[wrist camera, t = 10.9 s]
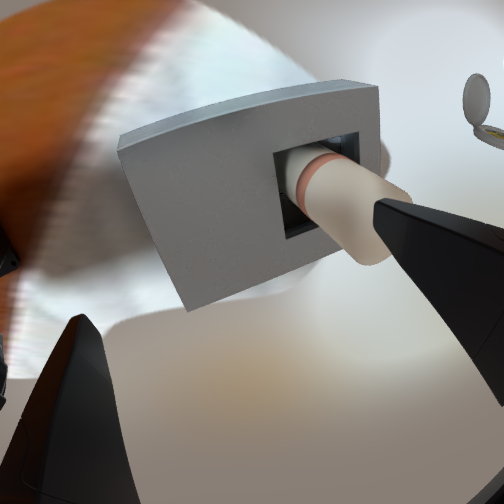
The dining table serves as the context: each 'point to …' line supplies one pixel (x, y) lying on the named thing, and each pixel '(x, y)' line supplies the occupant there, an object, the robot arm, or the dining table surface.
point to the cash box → (240, 182)
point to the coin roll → (337, 197)
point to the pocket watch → (480, 110)
